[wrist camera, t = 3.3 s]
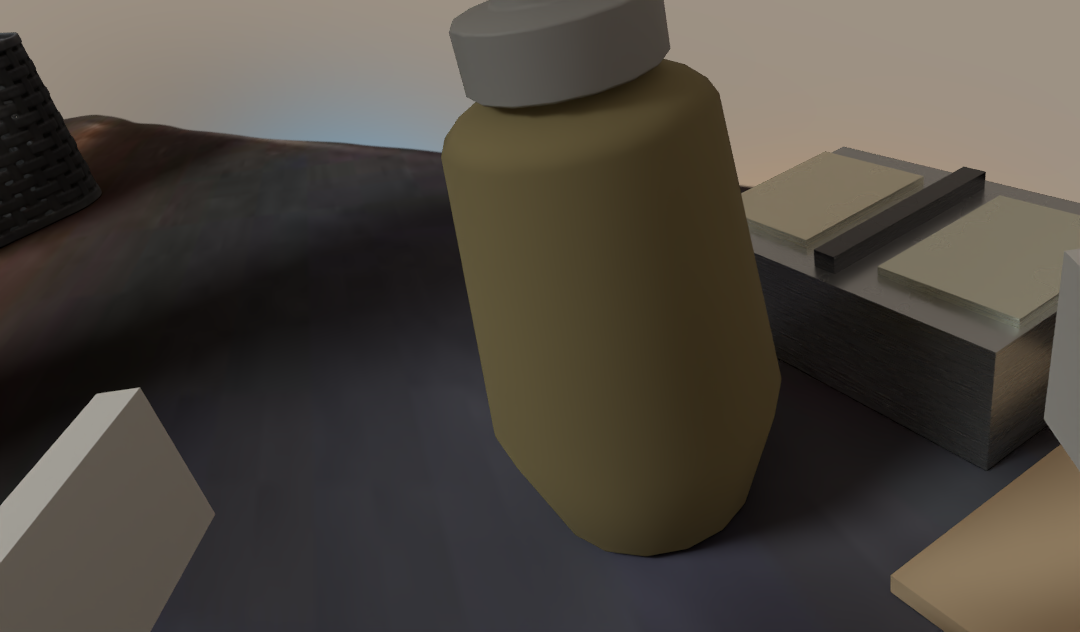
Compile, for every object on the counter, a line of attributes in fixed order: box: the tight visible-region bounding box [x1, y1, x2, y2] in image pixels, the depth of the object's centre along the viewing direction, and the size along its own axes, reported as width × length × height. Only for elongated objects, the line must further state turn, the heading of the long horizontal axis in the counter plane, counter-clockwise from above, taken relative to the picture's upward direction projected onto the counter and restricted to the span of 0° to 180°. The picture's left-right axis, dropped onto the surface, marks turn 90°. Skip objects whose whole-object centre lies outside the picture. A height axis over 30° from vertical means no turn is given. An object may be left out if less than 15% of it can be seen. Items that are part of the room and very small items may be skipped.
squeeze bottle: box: [441, 0, 781, 556], centre depth 20 cm, size 8×8×18 cm
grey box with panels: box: [741, 147, 1080, 471], centre depth 27 cm, size 12×8×5 cm, turn 31°
